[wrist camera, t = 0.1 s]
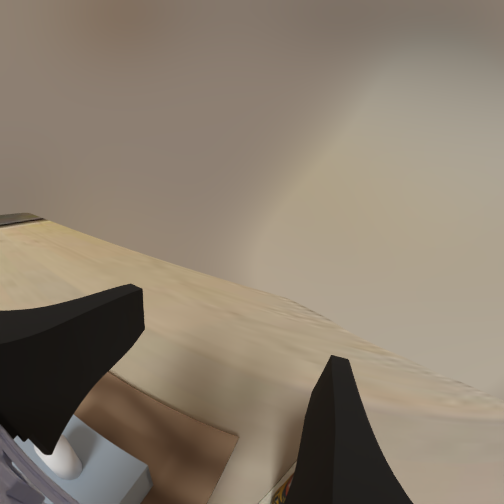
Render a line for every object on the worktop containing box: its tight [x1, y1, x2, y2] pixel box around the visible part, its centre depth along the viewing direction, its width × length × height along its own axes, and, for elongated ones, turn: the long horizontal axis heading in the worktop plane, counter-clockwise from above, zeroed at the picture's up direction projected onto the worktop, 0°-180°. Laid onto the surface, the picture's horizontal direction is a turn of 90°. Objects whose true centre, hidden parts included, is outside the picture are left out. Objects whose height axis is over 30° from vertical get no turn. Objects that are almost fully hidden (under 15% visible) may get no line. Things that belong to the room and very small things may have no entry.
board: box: [74, 372, 239, 504], centre depth 18 cm, size 20×20×1 cm
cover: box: [12, 414, 153, 504], centre depth 12 cm, size 9×10×9 cm
